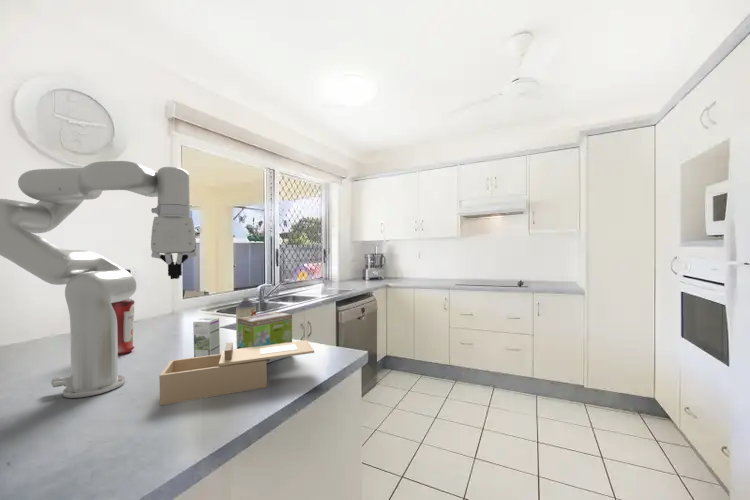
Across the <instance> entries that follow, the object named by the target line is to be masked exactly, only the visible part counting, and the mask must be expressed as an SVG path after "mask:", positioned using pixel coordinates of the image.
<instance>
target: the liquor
mask: <svg viewBox="0 0 750 500" xmlns="http://www.w3.org/2000/svg"><path fill="white" fill-rule="evenodd" d="M111 304H112V307H113V309H114V311H115V313H116V317H117V339H118V356H119V355H120V354H121V355H125V354H129V353H131V352H132V351H133V350H134V349H135V346H134V323H135V322H134V320H135V300H133V299H132V298H130V297H129V298H128V299H126V300H123V301H120V302H115V303H111Z"/></svg>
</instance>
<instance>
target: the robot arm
mask: <svg viewBox="0 0 750 500" xmlns="http://www.w3.org/2000/svg"><path fill="white" fill-rule="evenodd" d="M18 177H19V178H18V179H17V180H18V181H17V185H18V188H19V190H20V191H21V192H22V193H23V195H26V196H27V197H29V198H32V200H33V199H34V200H35V201H37V202H36V203H32V202H27V201H20V200H14V199H7V198H0V256H1V257H3V258H5V259H7V260H9V261H10V262H12V263H13V264H15V265H17V266H18V267H19V268H21V269H24V270H25V272H28V273H30V274H32V275H34V276H35V277H37V278H38V279H39V280H42V281H43V282H45V283H47V284H49V285H50V284H51V285H57V286H58V285H59V286H61V285H66V286H65V288H64V297H65V301H66V305H67V308H68V314H69V325H70V326H69V327H70V329H69V330H70V331H69V332H70V374H68V375H67V376H58V377H53V378H52V379H51V386H52V388H58V387H63V386H64V387H65V388H64V389H63V391H62V396H63V397H64V398H67V399H69V398H70V399H77V398H78V399H79V398H86V397H92V396H95V395H100V394H103V393H107V392H110V391H113V390H115V389H117V388H119V387H121V386H123V385H124V384H125V382H126V377H125V376H124V375H120V374H119V364H118V362H119V361H118V360H119V358H118V356H119V355H118V339H117V317H116V313H115V311H114V309H113V307H112V304H111V303H115V302H120V301H123V300H126V299H128V298H129V299H130V298H131V297H132V296H133V295H134V294H135V293H136V291H137V281H136V278H135V277H134V276H133V275H132V274H131V273H130V272H129V271H128V270H126V269H125V268H122V267H121V266H119V265H118V264H117V263H114V262H112V261H111V260H110V259H108V258H106V257H104V256H103V255H101V254H98V253H96V252H93V251H89V250H82V249H80V250H79V249H77V250H74V249H66V248H65V249H64V248H61V247H59V246H58V245H55V244H54V243H52V242H50V241H48V240H47V239H46V238H44V237H42V236H40V235H37V234H44V233H49V232H51V231H53V229H55V228H57V227H58V226H59V225H60V224H61V223H63V221H64V220H66V219H67V218H68V217H69V215H71V214H72V213H73V212H74V211H75V210H76V209H77V208H78V207H80V206H81V204H82V203H83V202H84V200H95V199H97V198H99V197H100V196H101V194H102V193H103V191H126V192H131V193H133V194H138V195H141V196H145V197H149V198H157V206H156V207H153V208H151V213H152V214H156V215H157V216H154V218H153V221H152V228H151V235H150V238H151V239H150V250H151V258H154V259H159V260H162V261H163V262H164V263H166V265H167V276H168V277H170V280H174V279H175V280H178V279H180V277H181V276H182V275H183V271H182V269H183V267H182V266H183V263H184V262H186V261H187V260H188V259H191V258H195V257H197V256H198V253H197V250H196V248H197V242H196V241H197V240H196V231H195V224H194V219H193V217H190V216H191V215H190V214H191V213H190V212H191V210H190V205H191V204H190V203H191V202H190V175H189V172H188V171H187V170H185V169H183V168H180V167H175V166H164V167H162V166H161V168H159V169H158V170H157V171H156V170H154V169H151V168H148V167H146V166H143V165H142V164H139V163H136V162H133V161H127V160H105V161H95V162H91V163H90V164H88V165H85V166H83V167H70V168H69V167H66V168H63V167H62V168H38V169H31V170H28V171H25V172H23V173H21V175H20V176H18ZM173 254H177V257H176V261H175V262H174V258H173Z"/></svg>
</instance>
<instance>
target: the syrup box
mask: <svg viewBox="0 0 750 500" xmlns="http://www.w3.org/2000/svg"><path fill="white" fill-rule="evenodd" d="M192 325H193V326H192V327H193V357H201V356H209V355H217V354H221V351H220V347H221V346H220V345H221V344H220V341H221V340H220V338H221V337H220V318H218V317H215V318H212V317H211V318H210V317H209V318H207V317H203V318H198V319H197V320H194V321H193V323H192Z"/></svg>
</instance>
